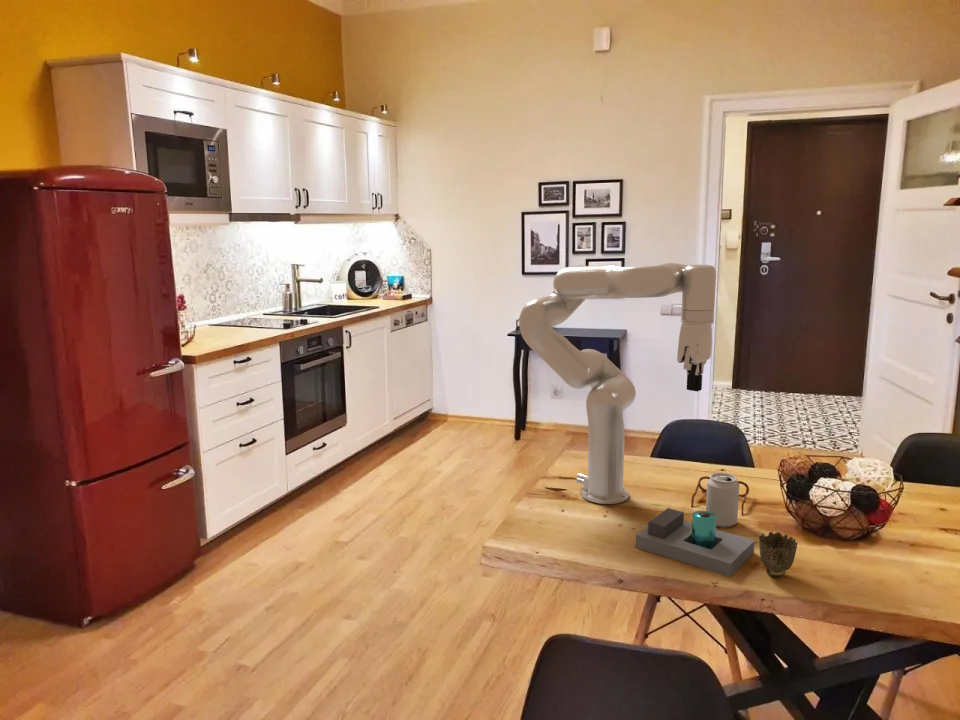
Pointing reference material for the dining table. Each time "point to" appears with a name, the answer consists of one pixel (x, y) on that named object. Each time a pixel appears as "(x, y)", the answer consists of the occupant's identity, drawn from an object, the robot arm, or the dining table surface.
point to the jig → (674, 542)
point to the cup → (777, 553)
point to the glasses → (706, 490)
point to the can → (723, 498)
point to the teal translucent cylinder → (703, 529)
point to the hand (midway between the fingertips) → (694, 389)
